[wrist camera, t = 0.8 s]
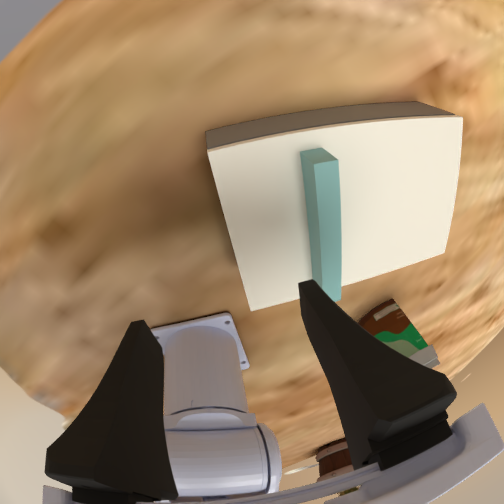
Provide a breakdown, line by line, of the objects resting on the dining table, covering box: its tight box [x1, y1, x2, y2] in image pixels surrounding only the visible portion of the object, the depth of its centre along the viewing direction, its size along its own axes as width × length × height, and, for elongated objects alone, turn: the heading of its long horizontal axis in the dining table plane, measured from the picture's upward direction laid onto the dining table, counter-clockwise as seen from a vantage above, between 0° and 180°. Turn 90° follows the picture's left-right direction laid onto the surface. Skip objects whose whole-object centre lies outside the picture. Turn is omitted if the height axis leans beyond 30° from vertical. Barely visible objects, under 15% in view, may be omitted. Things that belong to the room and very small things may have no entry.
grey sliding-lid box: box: [205, 102, 455, 150], centre depth 19 cm, size 11×16×4 cm
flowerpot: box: [316, 438, 360, 496], centre depth 55 cm, size 14×15×20 cm
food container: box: [358, 299, 440, 369], centre depth 29 cm, size 12×6×10 cm, turn 10°
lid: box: [207, 115, 463, 311], centre depth 16 cm, size 11×16×2 cm
